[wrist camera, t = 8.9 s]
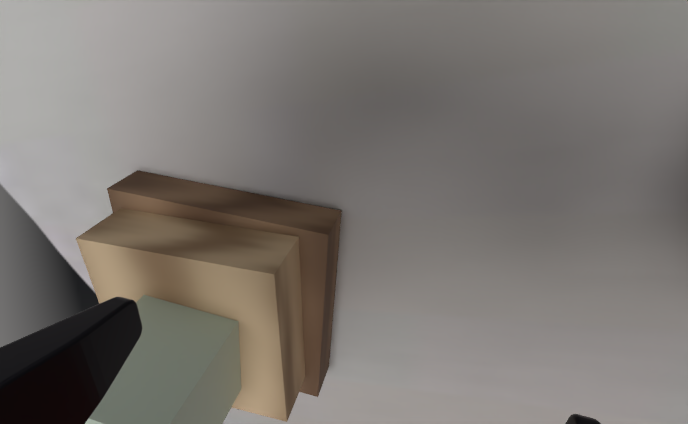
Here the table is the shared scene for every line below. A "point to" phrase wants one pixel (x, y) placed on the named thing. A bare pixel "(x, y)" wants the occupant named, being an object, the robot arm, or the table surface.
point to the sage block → (175, 369)
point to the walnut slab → (264, 215)
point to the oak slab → (213, 290)
